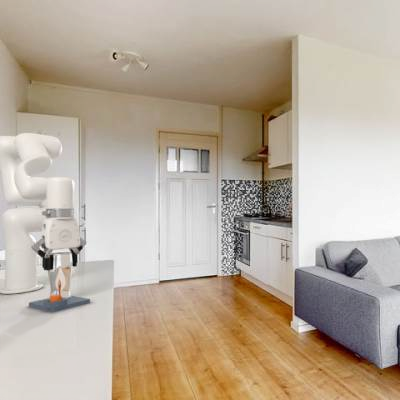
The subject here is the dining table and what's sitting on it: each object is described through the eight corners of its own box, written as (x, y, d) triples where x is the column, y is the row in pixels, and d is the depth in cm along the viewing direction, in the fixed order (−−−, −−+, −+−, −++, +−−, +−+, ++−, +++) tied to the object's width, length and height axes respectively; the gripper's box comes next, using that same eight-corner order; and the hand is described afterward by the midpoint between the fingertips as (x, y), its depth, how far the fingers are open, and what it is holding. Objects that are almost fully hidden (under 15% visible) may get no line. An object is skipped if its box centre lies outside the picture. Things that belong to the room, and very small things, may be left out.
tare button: (47, 301, 105) (47, 296, 105) (58, 299, 107) (58, 293, 107) (53, 303, 103) (52, 297, 103) (63, 300, 106) (63, 294, 106)
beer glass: (63, 301, 109) (63, 254, 110) (41, 301, 109) (41, 254, 110) (77, 295, 116) (77, 251, 116) (57, 295, 116) (57, 251, 117)
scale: (25, 307, 108) (25, 298, 108) (65, 298, 118) (65, 289, 118) (50, 313, 101) (50, 303, 101) (90, 303, 112) (90, 294, 112)
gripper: (36, 215, 104) (36, 273, 103) (93, 213, 119) (93, 264, 119) (23, 215, 107) (23, 271, 107) (80, 213, 123) (81, 263, 122)
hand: (60, 267), depth 113 cm, fingers open, 7 cm apart
